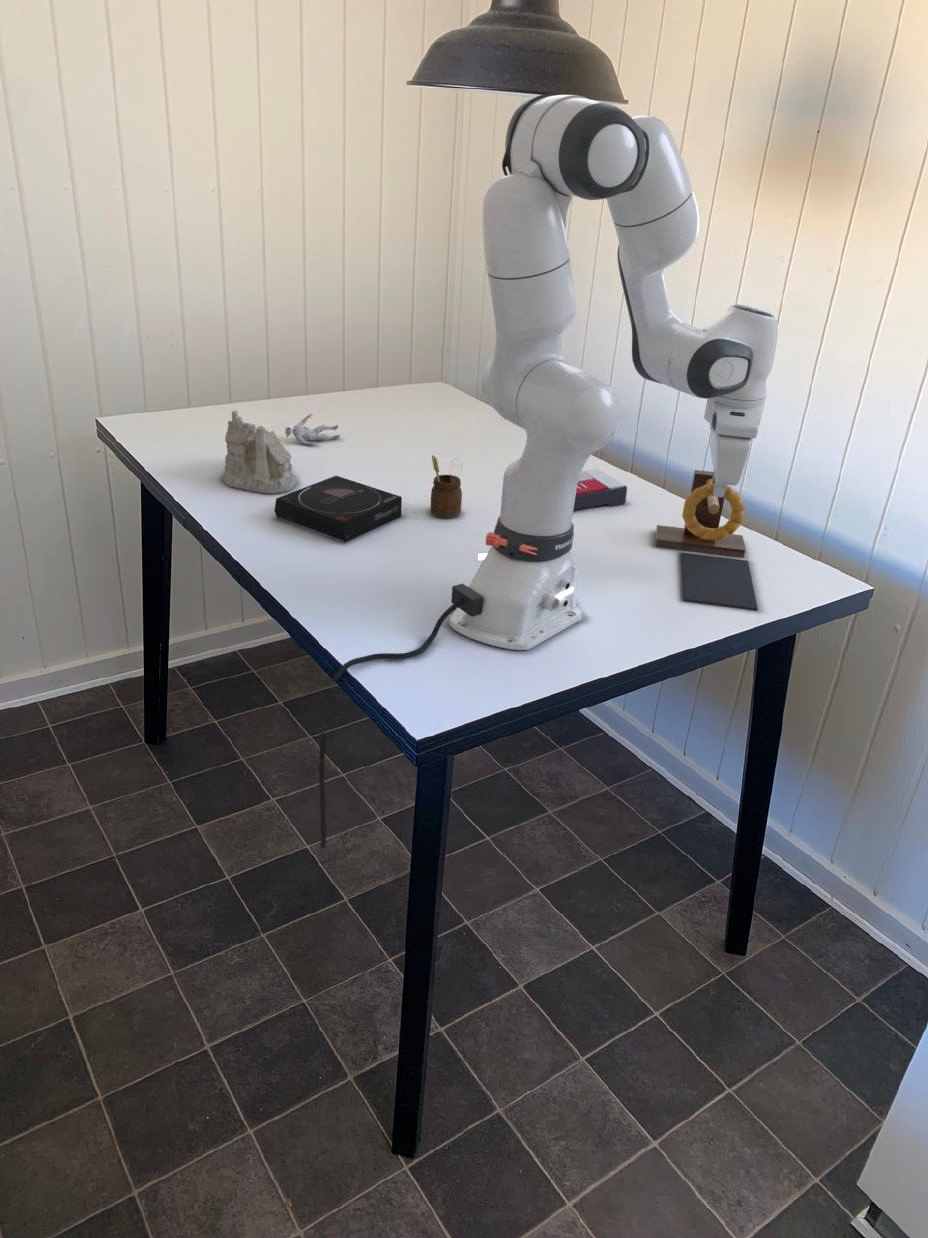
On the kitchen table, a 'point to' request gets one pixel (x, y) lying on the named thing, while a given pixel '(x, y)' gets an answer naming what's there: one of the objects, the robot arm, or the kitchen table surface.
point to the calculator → (598, 490)
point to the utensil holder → (446, 494)
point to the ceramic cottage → (256, 459)
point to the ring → (721, 531)
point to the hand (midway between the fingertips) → (717, 491)
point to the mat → (717, 581)
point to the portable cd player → (338, 508)
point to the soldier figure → (310, 432)
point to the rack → (707, 517)
